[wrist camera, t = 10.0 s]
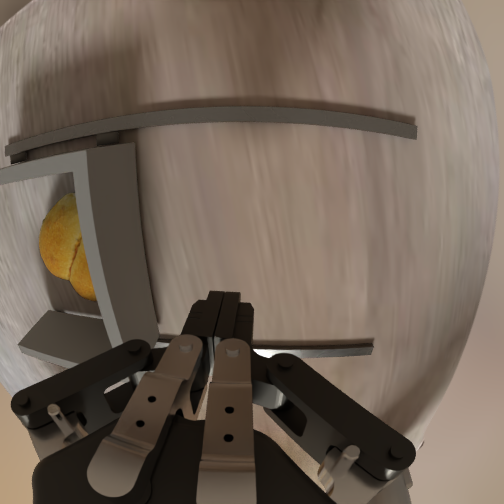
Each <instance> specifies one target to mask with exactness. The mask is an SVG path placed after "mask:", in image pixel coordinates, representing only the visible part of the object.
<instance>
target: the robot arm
mask: <svg viewBox="0 0 504 504" xmlns="http://www.w3.org/2000/svg"><path fill="white" fill-rule="evenodd" d="M240 301H241V294H240V292H224V291H210V292H209V294H208V297H207V300H198V301H197V302H196V303H194V304H193V305H192V308H191V310H190V313H189V315H188V318H187V320H186V322H185V325H184V327H183V330H182V332H181V335H180V336H177V337H175V338H174V339H172V340H171V342H170V344H169V345H168V346H167V347H162V348H152V349H151V347H150V344H149V343H148V342H146V341H144V340H141V339H133V340H129V341H127V342H125V343H123V344H120V345H118V346H116V347H114V348H112V349H110V350H108V351H106V352H104V353H102V354H99V355H97V356H95V357H93V358H91V359H89V360H87V361H85V362H82V363H80V364H78V365H76V366H74V367H72V368H69V369H67V370H65V371H63V372H61V373H59V374H56V375H54V376H52V377H50V378H47V379H45V380H43V381H41V382H39V383H36V384H34V385H32V386H30V387H27V388H25V389H23V390H20V391H19V392H17V393H16V394H15V395H14V396H13V398H12V401H11V408H12V411H13V412H14V413H15V415H16V416H17V417H18V418H19V419H20V420H21V422H22V424H23V425H24V426H25V428H26V429H27V430H28V432H29V435H30V438H31V440H32V443H33V445H34V448H35V450H36V452H37V455H38V457H39V459H40V462H39V463H38V464H37V466H36V467H35V469H34V472H33V476H32V487H33V504H411V500H410V495H409V491H408V489H409V488H411V487H412V485H413V483H412V479H411V476H410V472H409V469H408V467H409V466H410V465H411V464H412V463H413V462H414V460H415V456H416V450H415V447H414V445H413V443H412V442H411V441H410V440H408V439H407V438H405V437H404V436H403V435H401V434H400V433H398V432H397V431H395V430H394V429H392V428H391V427H390V426H388V425H387V424H385V423H384V422H383V421H381V420H380V419H378V418H377V417H376V416H374V415H373V414H371V413H370V412H369V411H367V410H366V409H365V408H363V407H362V406H361V405H359V404H358V403H357V402H355V401H354V400H353V399H351V398H350V397H349V396H347V395H346V394H345V393H343V392H342V391H341V390H339V389H338V388H337V387H335V386H334V385H333V384H332V383H330V382H329V381H328V380H326V379H325V378H324V377H323V376H321V375H320V374H319V373H317V372H316V371H315V370H314V369H312V368H311V367H310V366H309V365H307V364H306V363H305V362H304V361H302V360H301V359H300V358H299V357H297V356H295V355H293V354H290V353H278V354H275V355H273V356H271V357H270V358H267V357H264V356H261V355H259V354H258V353H256V352H255V351H254V350H253V348H252V340H253V322H254V308H253V307H252V305H251V303H243V302H240ZM209 375H211V376H212V382H210V384H209V391H208V400H207V409H206V418H205V420H197V418H198V415H199V412H200V409H201V406H202V403H203V400H204V397H205V394H206V391H207V382H208V377H209ZM127 377H128V378H129V382H127V383H125V384H123V385H121V386H119V387H117V388H115V389H113V390H111V391H110V392H108V393H105V394H104V391H105V390H106V389H107V388H108V387H110V386H112V385H114V384H116V383H118V382H120V381H122V380H123V379H125V378H127ZM252 403H254V404H257V405H260V406H263V408H264V411H265V412H266V413H267V414H268V415H269V416H270V417H271V418H272V419H273V420H274V421H275V422H276V423H277V424H278V425H279V426H280V427H281V428H282V429H283V430H284V431H285V432H286V433H287V434H288V435H289V436H290V437H291V438H292V439H293V440H294V441H295V442H296V443H297V444H298V445H299V446H300V447H301V448H302V449H303V450H305V451H306V452H307V453H308V454H309V455H310V456H311V457H312V458H313V459H314V460H316V461H317V462H318V463H319V464H320V467H319V469H318V479H319V481H320V482H321V483H322V485H323V486H324V488H325V490H326V493H325V492H324V491H323V490H322V489H321V488H320V487H319V486H318V485H317V484H316V483H314V482H313V481H312V480H311V479H310V478H309V477H308V476H307V475H306V474H305V473H304V472H303V471H302V470H301V469H300V468H299V467H298V466H297V464H296V463H295V462H294V461H293V460H292V459H291V458H290V457H289V456H288V455H287V454H286V453H285V452H284V451H283V450H282V449H281V448H280V446H279V445H278V444H277V443H276V442H275V441H274V440H272V439H271V438H270V437H268V436H267V435H265V434H263V433H261V432H259V431H257V430H254V429H253V404H252Z"/></svg>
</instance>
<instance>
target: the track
mask: <svg viewBox="0 0 504 504" xmlns="http://www.w3.org/2000/svg"><path fill="white" fill-rule="evenodd" d="M206 122H276V123H296V124H310V125H322V126H332V127H341V128H349V129H357V130H364V131H371V132H377V133H383V134H389V135H394V136H400V137H405V138H410V139H415V140H417V126H415V125H411V124H406V123H401V122H397V121H392V120H386V119H381V118H375V117H370V116H363V115H357V114H350V113H342V112H334V111H325V110H314V109H302V108H287V107H260V106H228V107H201V108H186V109H174V110H164V111H154V112H146V113H139V114H132V115H125V116H119V117H113V118H108V119H102V120H97V121H92V122H88V123H83V124H79V125H74V126H70V127H66V128H62V129H58V130H54V131H51V132H47V133H44V134H40V135H37V136H34V137H30V138H27V139H24V140H21V141H18V142H15V143H12V144H10V145H7V146H5V157H6V156H9V155H13V154H16V153H19V152H22V151H26V150H29V149H33V148H37V147H40V146H44V145H48V144H52V143H56V142H61V141H65V140H70V139H74V138H79V137H84V136H90V135H95V134H101V133H107V132H113V131H120V130H127V129H134V128H142V127H151V126H161V125H173V124H187V123H206ZM170 342H171V340H167V339H158V340H157V342H156V345H155V347H154V348H162V347H167V346H168V345H169V344H170ZM252 348H253V350H254V351H255V352H256V353H258V354H259V355H261V356H264V357H267V358H270V357H271V356H273V355H275V354H278V353H290V354H293V355H295V356H297V357H299V358H319V357H344V356H360V355H371V353H372V350H373V348H374V346H373V344H355V345H333V346H252Z"/></svg>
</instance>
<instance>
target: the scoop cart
mask: <svg viewBox="0 0 504 504" xmlns="http://www.w3.org/2000/svg"><path fill="white" fill-rule="evenodd" d="M96 143H97V146H100V145H107V144H114V143H119V141H118V132H109V133H103V134H97V135H96ZM10 159H11V164H15V163H18V162H22V161H26V160H27V159H26V151H25V152H21V153H17V154H13V155H10ZM68 172H73V178H74V187H75V195H76V203H77V210H78V216H79V223H80V228H81V234H82V239H83V244H84V249H85V254H86V259H87V263H88V267H89V272H90V276H91V280H92V284H93V287H94V291H95V295H96V298H97V302H98V305H99V309H100V312H101V315H102V318H103V319H97V318H91V317H85V316H79V315H73V314H67V313H62V312H57V311H52V310H48V311H47V312H46V313H45V314H44V316H43V317H42V318H41V319H40V320H39V321H38V322H37V323H36V324H35V325H34V326H33V328H32V329H31V330H30V331H29V332H28V333H27V334H26V336H25V337H24V338H23V339H22V340H21V341H20V342H19V344H18V346H19V348H20V350H21V352H22V353H24V354H27V355H29V356H32V357H35V358H38V359H40V360H43V361H46V362H49V363H53V364H56V365H59V366H62V367H65V368H72V367H74V366H76V365H78V364H80V363H82V362H85V361H87V360H89V359H91V358H93V357H95V356H97V355H99V354H102V353H104V352H106V351H108V350H110V349H112V348H114V347H116V346H118V345H120V344H123V343H125V342H127V341H129V340H133V339H141V340H144V341H146V342H148V343H149V344H150V347H151V349H152V348H154V347H155V345H156V342H157V340H158V338H159V336H160V334H159V329H158V325H157V320H156V315H155V310H154V305H153V300H152V295H151V289H150V283H149V277H148V271H147V265H146V258H145V251H144V244H143V236H142V228H141V219H140V210H139V199H138V188H137V174H136V156H135V142H133V143H125V144H117V145H109V146H102V147H96V148H89V149H84V150H78V151H72V152H67V153H62V154H57V155H52V156H48V157H43V158H39V159H35V160H30V161H26V162H22V163H19V164H15V165H11V166H8V167H5V168H1V169H0V185H3V184H7V183H12V182H17V181H22V180H27V179H32V178H37V177H43V176H49V175H55V174H61V173H68ZM121 382H126V383H127V382H129V378H128V377H127V378H125V379H123V380H122V381H121Z"/></svg>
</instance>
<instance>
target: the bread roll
mask: <svg viewBox="0 0 504 504" xmlns="http://www.w3.org/2000/svg"><path fill="white" fill-rule="evenodd" d="M39 248H40V253H41V257H42V259H43V261H44V263H45V265H46V267H47V268H48V270H49V271H50V272H51V273H52V274H53V275H55V276H56V277H59V278H61V279H65V280H69V281H70V282H71V284H72V286H73V287H74V289H75V290H76V292H77V293H78V294H79V295H80V296H82V297H83V298H85V299H88V300H91V301H97V298H96V295H95V291H94V287H93V284H92V280H91V276H90V272H89V267H88V263H87V259H86V254H85V249H84V244H83V239H82V234H81V228H80V223H79V216H78V210H77V203H76V195H75V193H68V194H66V195H65V196H63V197H62V198H61V199H60V200H59V201H58V202H57V203H56V205H55V206H54V207H53V208H52V209H51V210H50V211H49V213H48V214H47V215H46V217H45V219H44V220H43V224H42V227H41V230H40V235H39Z"/></svg>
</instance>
